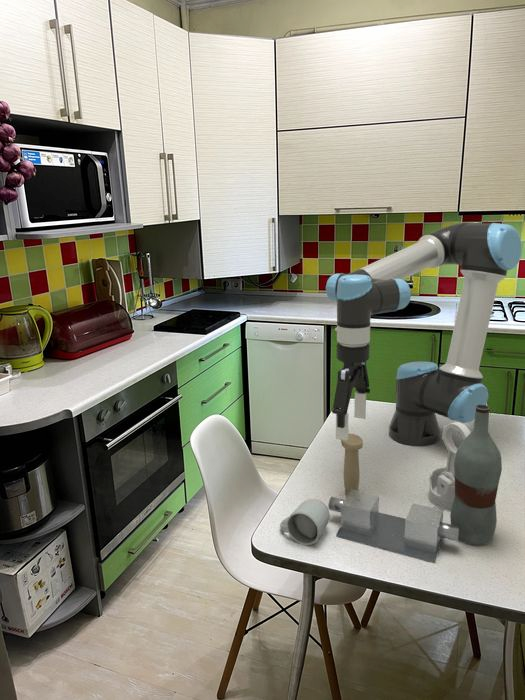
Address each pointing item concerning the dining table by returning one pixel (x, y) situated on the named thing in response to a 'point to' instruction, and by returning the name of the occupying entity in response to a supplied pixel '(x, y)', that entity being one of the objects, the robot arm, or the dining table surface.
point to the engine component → (446, 470)
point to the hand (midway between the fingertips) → (351, 427)
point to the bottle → (476, 483)
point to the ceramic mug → (307, 522)
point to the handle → (351, 462)
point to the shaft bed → (392, 526)
